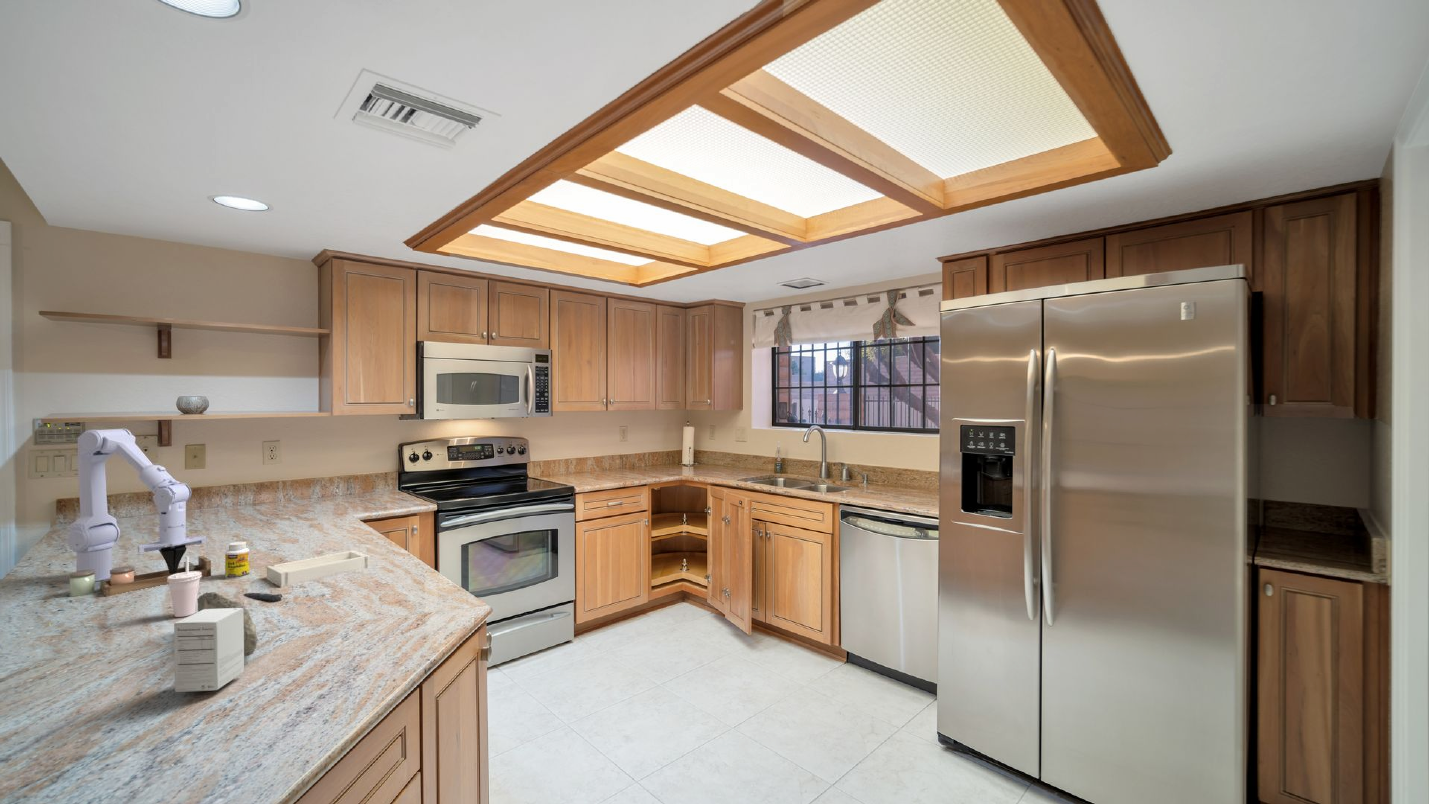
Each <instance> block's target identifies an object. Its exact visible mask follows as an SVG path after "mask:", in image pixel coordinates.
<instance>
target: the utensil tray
mask: <svg viewBox="0 0 1429 804" xmlns="http://www.w3.org/2000/svg"><path fill="white" fill-rule="evenodd" d="M368 568H369V569H370V568H371V555H368V554H366V553H363V552H360V551H357V550H353V549H352V550H347V551H346V550H345V551H342V552H336V553H330V554H326V555H325V554H324V555H320V556H316V557H310V558H309V557H308V558H304V559H300V560H299V559H298V560H294V561H288V562H284V563H283V562H282V563H277V564H273V565H267V566H266V580H268V581H270V582H271V583H273V584H275V585H277V586H278V587H280V588H284V587H290V586H293V585H298V584H304V583H308V582H311V581H317V580H321V579H324V578H329V577H330V578H331V577H333V576H339V575H342V574H347V573H350V572H356V571H360V570H364V569H368Z"/></svg>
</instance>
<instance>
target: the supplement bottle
mask: <svg viewBox="0 0 1429 804" xmlns="http://www.w3.org/2000/svg"><path fill="white" fill-rule="evenodd" d="M224 555H225V556H224V557H225V559H224V563H225V566H224V567H225V568H224V569H225V570H224V571H225V572H224V573H225V574H224V577H225V579H226V580H236V579H242V578H246V577H248V576H249V575H250V548H248V547H247V541H235V542H231V543H229V544H228V549H227V550H226V551H225V553H224Z"/></svg>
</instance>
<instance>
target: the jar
mask: <svg viewBox="0 0 1429 804" xmlns="http://www.w3.org/2000/svg"><path fill="white" fill-rule="evenodd" d="M94 574H95V570H82V571H73V572H71V573H69V574H68V578H69V597H70V598H71V597H72V598H75V597H77V598H78V597H83V596H88V595H91V594H94V593H95V588H96V587H95V582H96V581H95V576H94Z"/></svg>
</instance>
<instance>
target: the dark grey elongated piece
mask: <svg viewBox="0 0 1429 804" xmlns="http://www.w3.org/2000/svg"><path fill="white" fill-rule="evenodd" d="M243 596H244V597H246V598H248V599H253V600H257V601H263V602H268V603H277V602H281V601H282V598H283V594H282V593H277V594H271V593H266V592H264V591H262V592H247V593H243Z"/></svg>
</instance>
